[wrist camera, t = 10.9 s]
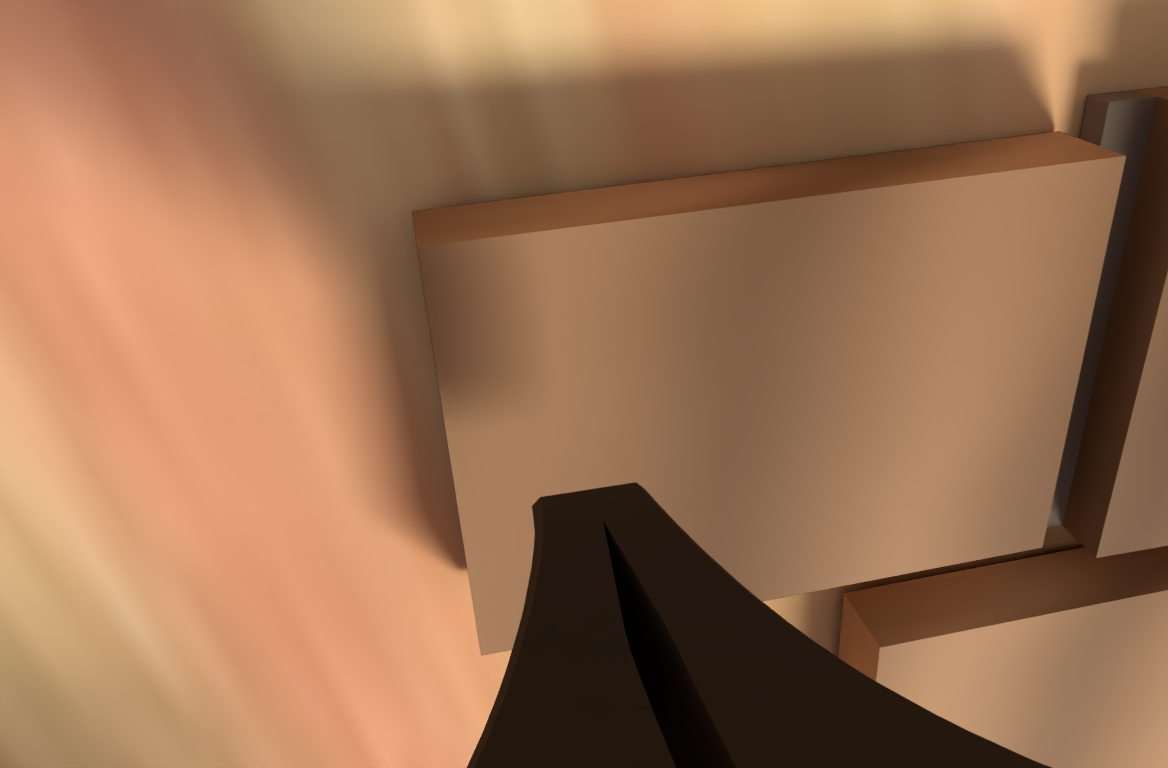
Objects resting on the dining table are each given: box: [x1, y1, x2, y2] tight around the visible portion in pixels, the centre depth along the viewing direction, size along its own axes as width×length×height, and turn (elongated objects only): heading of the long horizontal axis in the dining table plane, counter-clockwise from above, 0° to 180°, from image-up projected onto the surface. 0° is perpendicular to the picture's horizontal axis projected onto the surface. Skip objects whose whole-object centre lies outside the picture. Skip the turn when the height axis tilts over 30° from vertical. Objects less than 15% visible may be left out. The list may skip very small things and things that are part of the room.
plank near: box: [412, 131, 1126, 656], centre depth 15 cm, size 10×7×2 cm
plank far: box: [838, 546, 1168, 768], centre depth 20 cm, size 10×7×2 cm
